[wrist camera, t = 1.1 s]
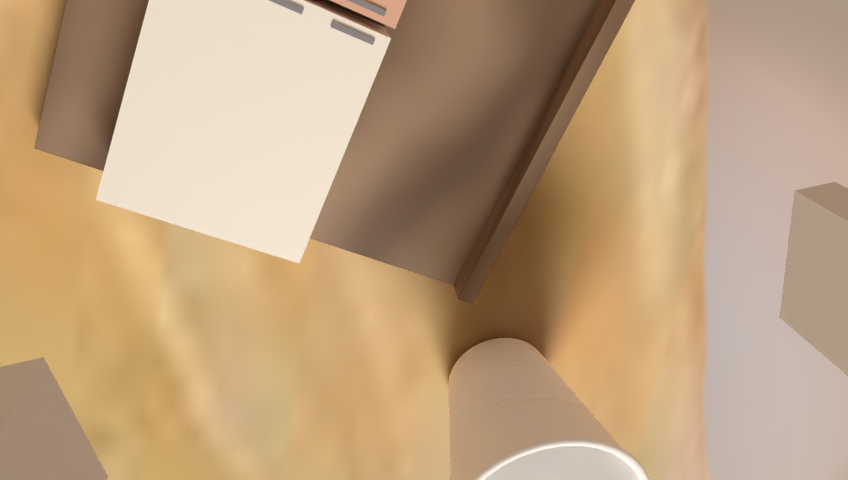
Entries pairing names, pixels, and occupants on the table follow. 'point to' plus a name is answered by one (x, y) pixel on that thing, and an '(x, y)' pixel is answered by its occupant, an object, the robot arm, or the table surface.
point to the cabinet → (377, 9)
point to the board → (394, 120)
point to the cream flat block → (241, 116)
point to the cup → (525, 421)
